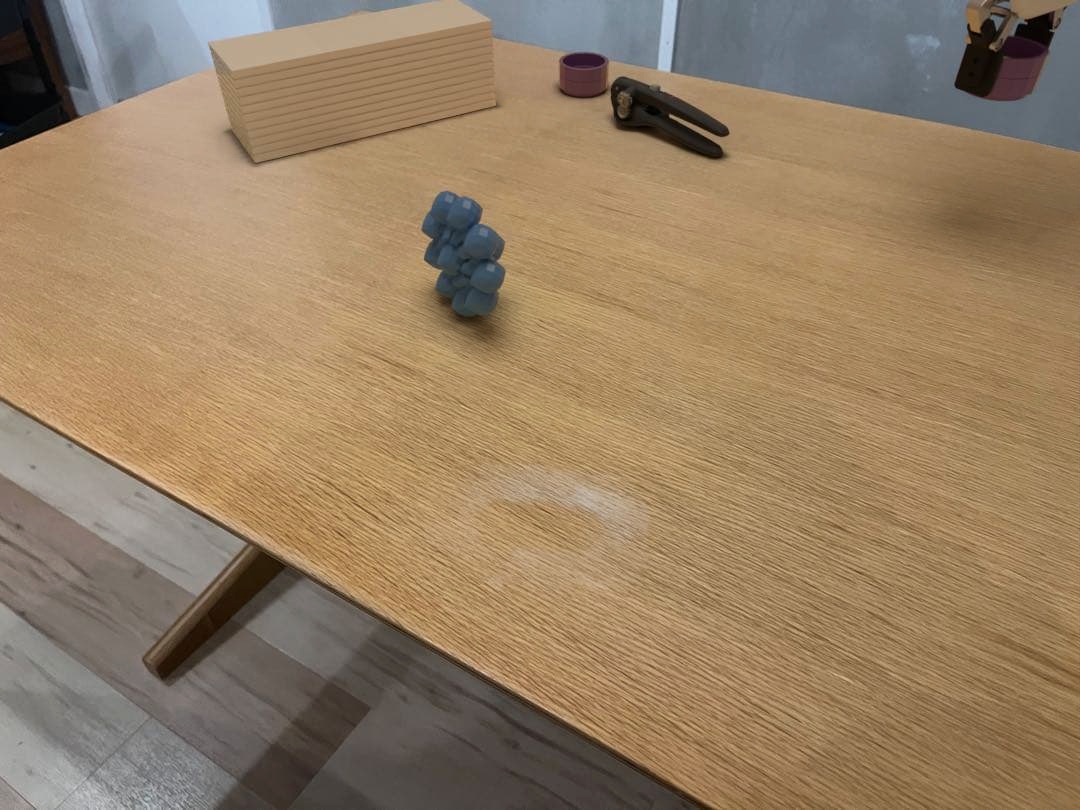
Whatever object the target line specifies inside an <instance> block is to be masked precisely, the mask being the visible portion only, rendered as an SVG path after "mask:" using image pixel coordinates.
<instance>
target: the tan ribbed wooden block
mask: <svg viewBox="0 0 1080 810" xmlns="http://www.w3.org/2000/svg"><path fill="white" fill-rule="evenodd" d="M492 28H493V20H492V19H491V18H489V17H488V16H485V15H484V14H482V13H481V12H478V11H477V10H476V9H474V8H472V7H470V6H469V5H467V4H465V3H463V2H462V1H460V0H435V1H429V2H424V3H417V4H412V5H407V6H402V7H397V8H396V7H395V8H390V9H385V10H379V11H373V12H368V13H362V14H358V15H351V16H346V17H340V18H335V19H330V20H324V21H319V22H318V21H317V22H313V23H308V24H302V25H296V26H291V27H290V26H289V27H286V28H280V29H274V30H273V29H272V30H268V31H263V32H257V33H252V34H245V35H241V36H236V37H229V38H224V39H223V38H222V39H218V40H212V41H208V42H207V44H208V45H207V46H208V48H209V51H210V55H211V59H212V63H213V66H214V70H215V74H216V77H217V81H218V84H219V89H220V92H221V96H222V99H223V104H224V107H225V110H226V114H227V117H228V121H229V123H230V124H229V126H230V129H231V131H232V133H233V135H235V137H236V138H237V140H238V141H239V143H240V144H241V146H242V147H243V148H244V149H245V151H246V153H248V155H249V156H250V158H251V159H252V160H253V162H254V164H257V163H262V162H267V161H270V160H275V159H279V158H283V157H287V156H290V155H295V154H299V153H304V152H309V151H312V150H313V151H314V150H316V149H320V148H325V147H329V146H333V145H338V144H341V143H346V142H350V141H355V140H359V139H363V138H367V137H371V136H375V135H376V136H377V135H380V134H384V133H387V132H391V131H392V132H393V131H396V130H400V129H405V128H408V127H413V126H417V125H421V124H425V123H430V122H433V121H434V122H435V121H438V120H443V119H445V118H446V119H447V118H450V117H455V116H459V115H463V114H467V113H471V112H476V111H479V110H485V109H488V108H492V107H497V99H496V98H497V97H496V77H495V73H496V72H495V61H494V60H495V55H494V54H495V53H494V45H493V44H494V37H493V35H494V34H493V33H494V32H493V29H492Z"/></svg>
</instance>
